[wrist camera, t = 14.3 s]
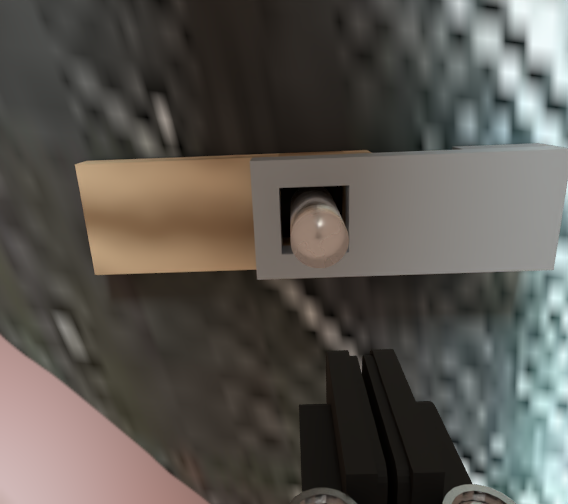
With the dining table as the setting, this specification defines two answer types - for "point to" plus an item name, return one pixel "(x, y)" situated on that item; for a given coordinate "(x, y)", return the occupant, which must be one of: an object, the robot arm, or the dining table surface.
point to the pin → (317, 228)
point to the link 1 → (173, 213)
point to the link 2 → (422, 210)
